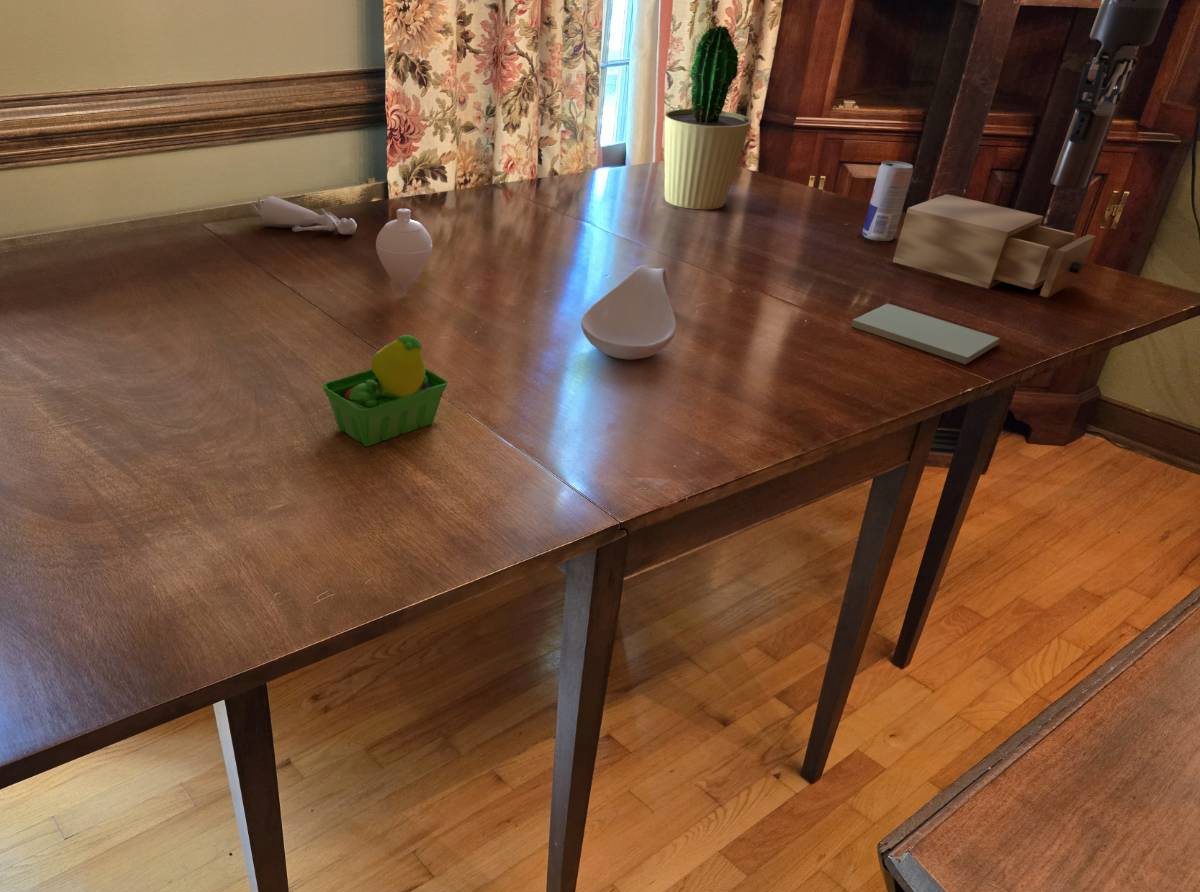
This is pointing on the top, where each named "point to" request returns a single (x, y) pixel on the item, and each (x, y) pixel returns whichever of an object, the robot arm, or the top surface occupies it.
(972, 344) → the mat
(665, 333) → the spoon rest
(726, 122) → the potted cactus
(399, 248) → the spinning top
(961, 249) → the cabinet
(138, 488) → the top surface
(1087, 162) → the glass of dark soda
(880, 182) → the energy drink
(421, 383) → the fruit basket
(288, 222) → the woman figurine
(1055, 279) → the drawer
